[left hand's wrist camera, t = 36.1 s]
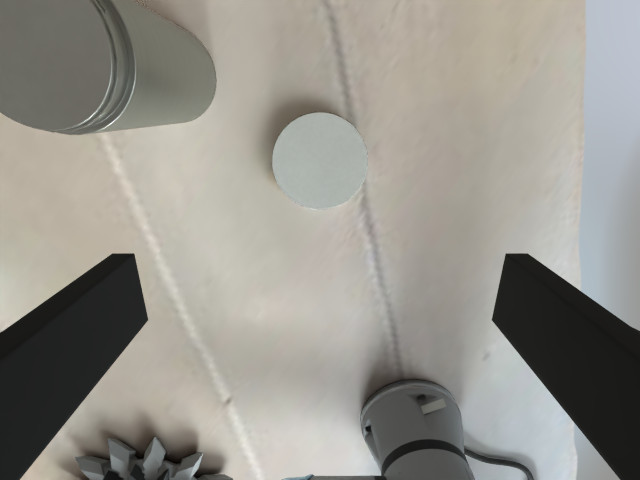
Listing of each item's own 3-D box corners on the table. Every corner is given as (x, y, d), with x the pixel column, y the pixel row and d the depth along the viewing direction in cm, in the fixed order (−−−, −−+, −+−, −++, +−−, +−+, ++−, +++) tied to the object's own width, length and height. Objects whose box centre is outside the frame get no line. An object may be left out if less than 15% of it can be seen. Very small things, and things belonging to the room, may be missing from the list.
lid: (267, 116, 39) (264, 116, 37) (363, 106, 38) (366, 106, 36) (280, 208, 43) (278, 213, 41) (368, 200, 42) (370, 205, 40)
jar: (221, 37, 36) (120, -34, 18) (211, 131, 39) (118, 153, 21) (127, 14, 35) (-79, -85, 17) (125, 112, 39) (-48, 117, 20)
